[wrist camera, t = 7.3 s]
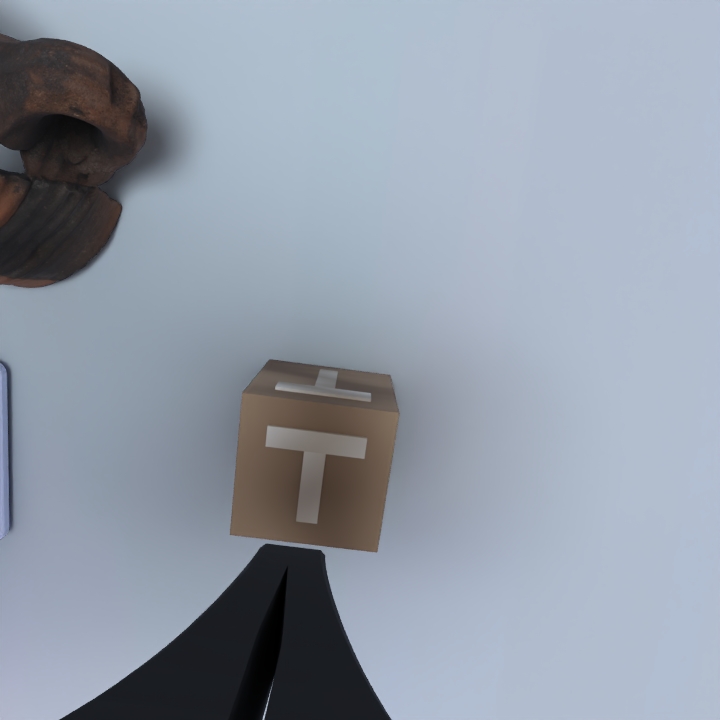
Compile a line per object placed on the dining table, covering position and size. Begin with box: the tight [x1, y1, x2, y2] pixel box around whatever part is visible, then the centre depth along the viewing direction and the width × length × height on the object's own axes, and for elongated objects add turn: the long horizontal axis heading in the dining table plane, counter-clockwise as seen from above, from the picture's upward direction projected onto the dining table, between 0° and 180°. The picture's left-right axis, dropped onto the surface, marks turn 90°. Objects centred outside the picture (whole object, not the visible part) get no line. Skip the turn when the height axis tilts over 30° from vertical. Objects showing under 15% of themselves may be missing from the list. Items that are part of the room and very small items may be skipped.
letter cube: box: [230, 360, 399, 552], centre depth 19 cm, size 5×5×5 cm
